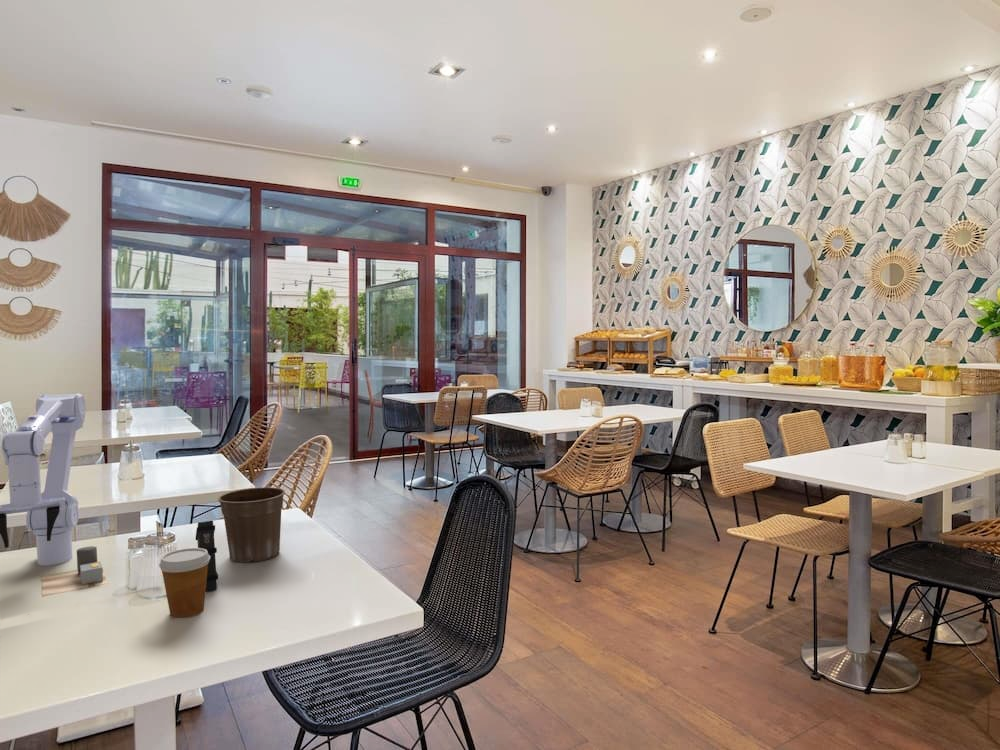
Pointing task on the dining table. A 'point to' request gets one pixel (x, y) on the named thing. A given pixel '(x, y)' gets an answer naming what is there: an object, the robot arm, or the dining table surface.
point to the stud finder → (91, 572)
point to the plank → (65, 582)
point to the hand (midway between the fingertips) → (28, 543)
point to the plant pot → (252, 522)
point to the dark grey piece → (86, 556)
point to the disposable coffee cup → (185, 580)
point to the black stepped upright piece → (207, 542)
